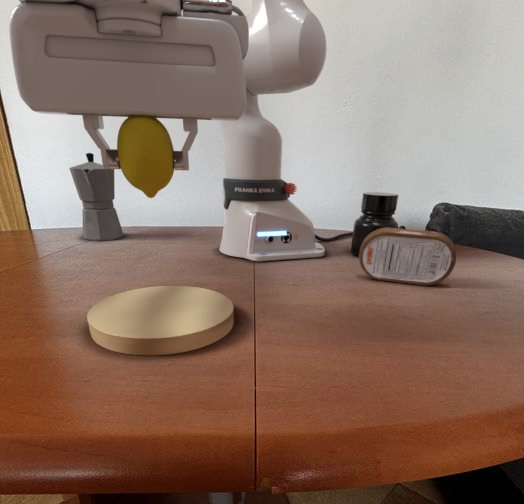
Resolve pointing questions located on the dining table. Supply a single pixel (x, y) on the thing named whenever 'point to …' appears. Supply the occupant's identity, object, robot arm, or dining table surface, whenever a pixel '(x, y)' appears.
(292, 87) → the robot arm
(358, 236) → the ink bottle
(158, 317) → the birch disc
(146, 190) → the lemon
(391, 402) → the dining table surface
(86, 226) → the coffeepot
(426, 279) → the tin
